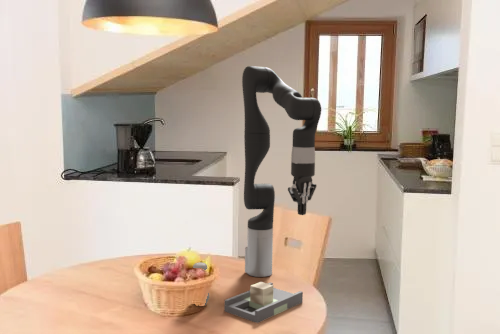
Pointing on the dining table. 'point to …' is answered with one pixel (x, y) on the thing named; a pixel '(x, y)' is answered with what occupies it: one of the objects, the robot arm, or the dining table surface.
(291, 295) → the trap lane
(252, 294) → the maple block
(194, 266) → the salt shaker
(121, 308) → the dining table surface
